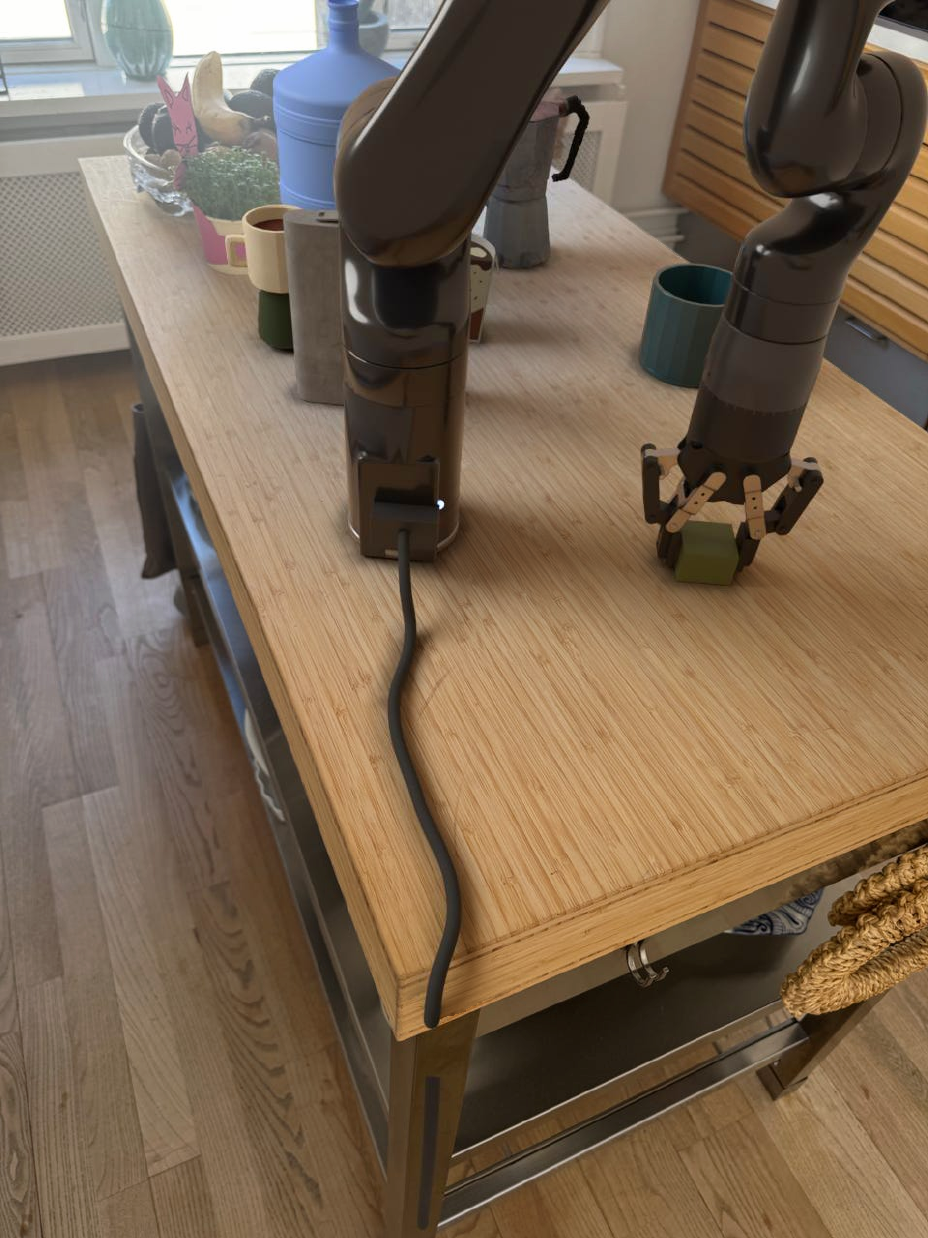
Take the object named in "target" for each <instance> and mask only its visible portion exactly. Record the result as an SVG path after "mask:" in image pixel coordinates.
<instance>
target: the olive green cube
mask: <svg viewBox="0 0 928 1238" xmlns="http://www.w3.org/2000/svg"><path fill="white" fill-rule="evenodd" d="M681 533H682V534H681V538H680V541H679V545H678V548H677V552H676V556H675V559H674V563H673V567H674V575H675V580H676V582H683V583H694V584H705V585H718V586H731V584H732V581H733V578H734V574H735V573H736V572H735V569H736V566H737V563H738V560H739V554H738V550H737V545H736V541H735V538H736V535H735V532H734V527H733V524H732V523H729V522H727V523H726V522H718V521H717V522H716V521H715V522H714V521H704V520H694V519H688V520H687V522H686V523H685V524H684V525H683V527H682V528H681Z"/></svg>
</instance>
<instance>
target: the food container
mask: <svg viewBox="0 0 928 1238" xmlns="http://www.w3.org/2000/svg"><path fill="white" fill-rule="evenodd" d="M494 267H495V268H496V273H497V275H499V274H500V270H499V266H498V259H497V255H496V253H495V249H494V247H493V245H492V244H491V243H490V242H489V241H487V240H486V239H484V238H483V236H481V235H479V234H476V233H473V232H472V235H471V257H470V274H471V323H470V337H469V343H475V344H481V343H480V342H481V337H482V332H483V327H484V322H485V316H486V310H487V305H488V301H489V294H490V289H491V285H492V279H493V278H492V277H493V274H494V273H493V272H494Z"/></svg>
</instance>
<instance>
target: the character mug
mask: <svg viewBox="0 0 928 1238" xmlns="http://www.w3.org/2000/svg"><path fill="white" fill-rule="evenodd" d="M295 209H302V208H299V207H296V206H290V205H282V204H269V205H262V206H259V207H254V208H253V209H251V210H249V211H246V212H245V213H244V215H243V216H242V218H241V219H242V220H241V221H242V222H241V223H242V229H243V230H242V232H243V234H236V233H235V234H234V233H233V234H231V233H230V234H226V235H225V238H224V243H225V250H226V259H227V263H228V265H229V266H230V267H233V268H247V274H248V278H249V280H250V282H251V284H252V285H253V286H254V287H256V288H257V289H259V292H258V312H257V314H258V316H257V321H258V322H257V323H258V324H257V325H258V326H257V327H258V328H257V329H258V330H257V331H258V335H259V338H260V339H261V340H262V341H263V342H264V343H266V344H267V345H269V346H271V347H274V348H277V349H292V350H294V346H293V334H292V321H291V309H290V297H289V285H288V272H287V260H286V248H285V236H284V223H283V215H284V214H285V213H286V212H288V211H290V210H295ZM236 245H244V251H245V257H239V256H238V255H237V246H236Z"/></svg>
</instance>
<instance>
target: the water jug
mask: <svg viewBox="0 0 928 1238" xmlns="http://www.w3.org/2000/svg"><path fill="white" fill-rule="evenodd" d="M326 4H327V7H328V14H329V15H328V18H327V26H328V35H329V36H328V37H329V38H328V39H329V40H328V44H327V45H326V46H325V47H324V48H322V49H320V50H319V51H316V52H314V53H312V54H311V55H308V56H306V57H304V58H303V59H299V61H296V62H294V63H293V64H290V65H289V66H286V67H284V68H283V69H281V70H279V71H278V72H277V73H276V74H275V76H274V78H273V80H272V90H273V91H272V92H273V95H272V110H273V119H274V125H275V130H276V141H277V142H276V143H277V153H278V154H277V155H278V167H279V194H280V195H279V196H280V201H281V203H282V204H281V205H290V206H296V207H299V208H302V209H307V210H316V211H319V210H337V209H336V204H335V198H334V193H333V168H334V158H335V147H336V139H337V134H338V130H339V127H340V124H341V121H342V119H343V116H344V114H345V113H346V111H347V109H348V108H349V106H350V104H351V103H352V102H353V101H354V99H355V98H356V97H357V96H358V95H359V94H360V93H361V92H362V91H364V90H365V89H366V88H368V87H369V86H370V85H372V84H374V83H376V82H378V81H380V80H383V79H385V78H389V77H394V76H398V75H399V73H400V72H401V70H402V69H400V68H398V67H396V66H395V65H393V64H391V63H389V62H388V61H386V60H385V59H382V58H380V57H378V56H377V55H375V54H374V53H371V52H369V50H366V49H364V47H362V45H361V43H360V37H359V35H360V34H359V29H360V19H359V18H358V8H359V6H360V1H358V0H326Z"/></svg>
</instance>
